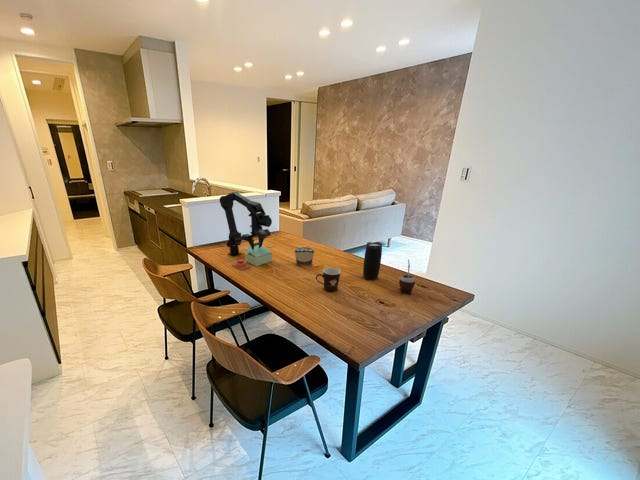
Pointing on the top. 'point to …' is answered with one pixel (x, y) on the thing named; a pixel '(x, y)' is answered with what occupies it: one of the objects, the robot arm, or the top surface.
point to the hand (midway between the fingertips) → (256, 248)
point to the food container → (304, 256)
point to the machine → (258, 259)
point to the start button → (240, 261)
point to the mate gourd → (407, 282)
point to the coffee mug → (330, 279)
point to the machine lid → (258, 250)
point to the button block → (241, 265)
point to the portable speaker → (372, 260)
